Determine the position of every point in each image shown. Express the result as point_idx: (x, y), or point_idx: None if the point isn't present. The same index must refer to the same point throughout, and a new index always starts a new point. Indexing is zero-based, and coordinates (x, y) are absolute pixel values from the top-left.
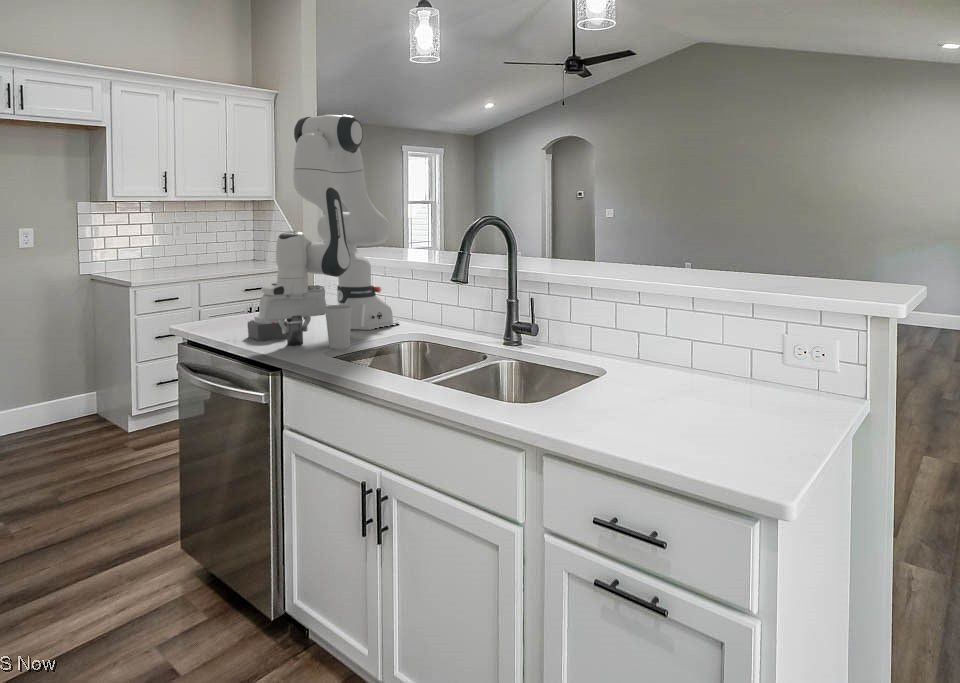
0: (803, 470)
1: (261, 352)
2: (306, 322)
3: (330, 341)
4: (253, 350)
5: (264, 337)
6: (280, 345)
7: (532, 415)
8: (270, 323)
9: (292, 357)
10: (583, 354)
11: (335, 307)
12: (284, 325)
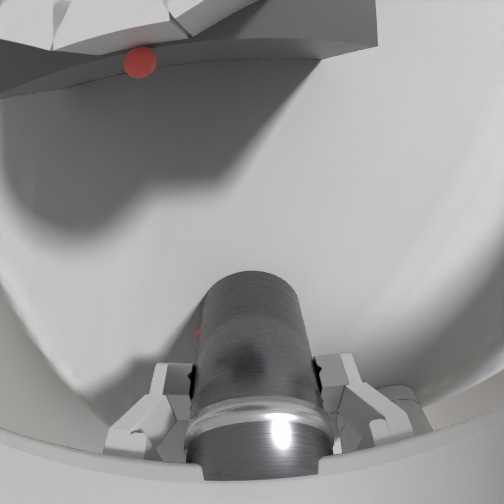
0: None
1: (62, 368)
2: (357, 425)
3: (341, 442)
4: (29, 323)
5: (94, 77)
6: (159, 296)
7: None
8: (104, 53)
9: (161, 451)
10: None
11: None
12: (161, 438)
